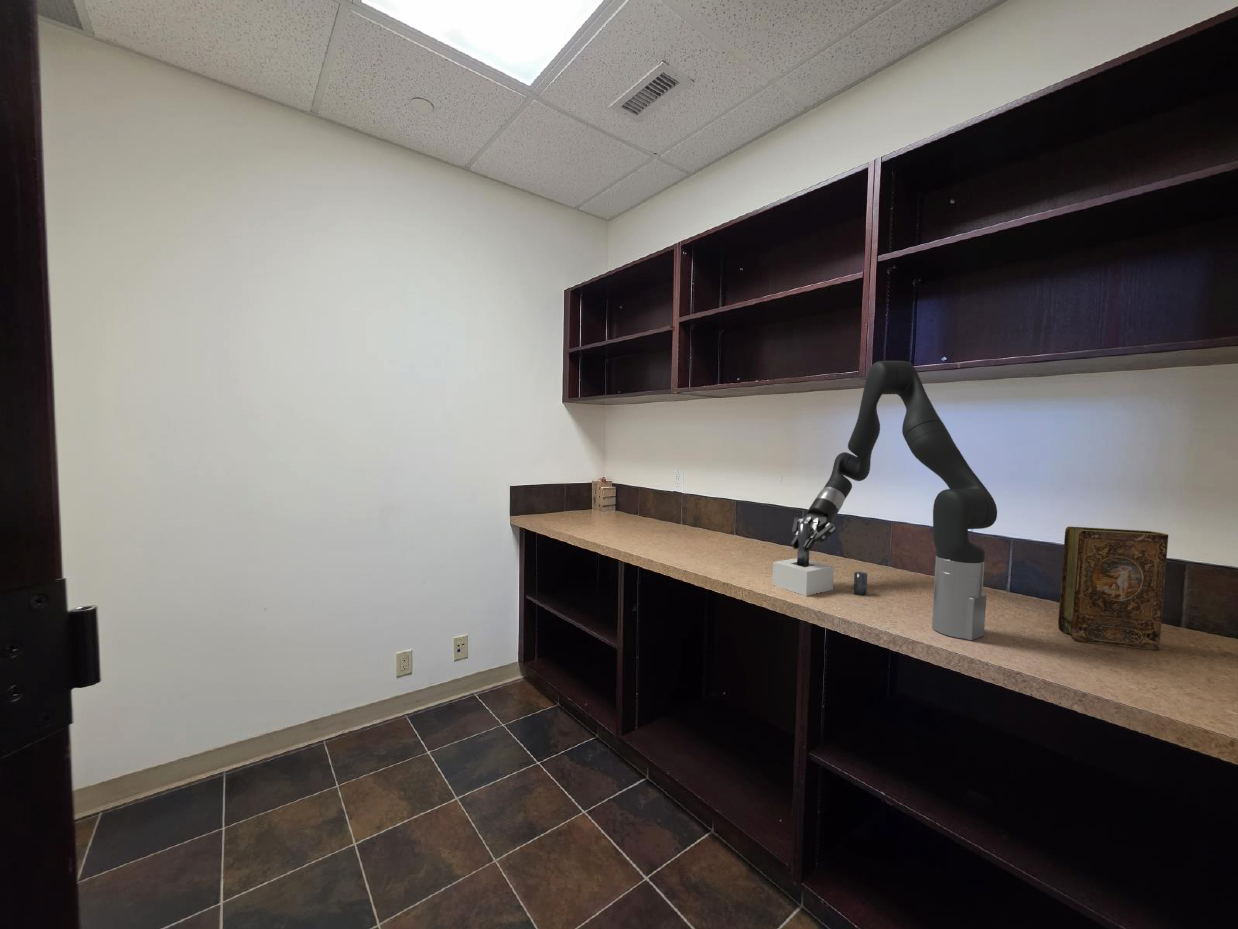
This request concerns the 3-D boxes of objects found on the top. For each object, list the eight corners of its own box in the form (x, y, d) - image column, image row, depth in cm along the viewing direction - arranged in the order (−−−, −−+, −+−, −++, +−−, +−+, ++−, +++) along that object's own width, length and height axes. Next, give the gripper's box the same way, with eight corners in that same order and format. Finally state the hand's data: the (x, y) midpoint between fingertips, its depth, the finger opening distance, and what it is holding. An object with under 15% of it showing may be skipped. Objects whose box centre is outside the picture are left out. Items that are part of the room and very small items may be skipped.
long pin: (811, 567, 146) (813, 524, 145) (803, 569, 144) (805, 525, 144) (801, 565, 149) (803, 522, 148) (794, 566, 147) (796, 523, 146)
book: (1146, 641, 111) (1154, 531, 110) (1164, 651, 106) (1174, 535, 104) (1057, 631, 116) (1064, 526, 114) (1071, 641, 110) (1079, 530, 109)
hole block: (832, 590, 145) (833, 566, 145) (806, 596, 139) (807, 571, 138) (798, 579, 155) (799, 557, 155) (772, 585, 149) (773, 562, 148)
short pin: (869, 594, 141) (870, 573, 141) (862, 596, 140) (863, 575, 139) (857, 591, 144) (858, 571, 144) (850, 593, 143) (851, 572, 142)
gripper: (802, 494, 155) (774, 536, 150) (842, 499, 143) (814, 545, 138) (812, 510, 158) (785, 551, 153) (853, 516, 146) (825, 562, 141)
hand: (799, 548), depth 145 cm, fingers closed on long pin, 3 cm apart
